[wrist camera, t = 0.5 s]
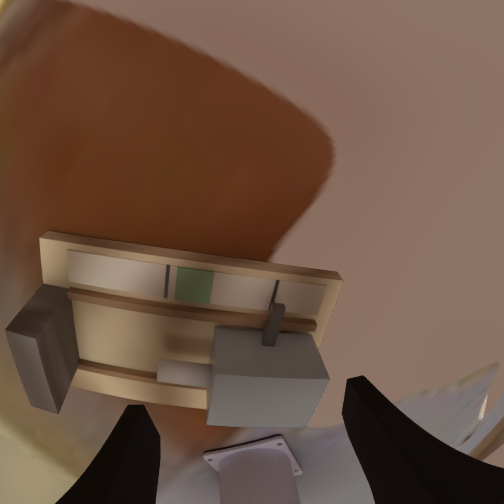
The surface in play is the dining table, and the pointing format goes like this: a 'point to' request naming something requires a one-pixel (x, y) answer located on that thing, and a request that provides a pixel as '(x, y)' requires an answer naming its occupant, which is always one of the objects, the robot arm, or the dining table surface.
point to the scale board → (148, 315)
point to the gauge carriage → (256, 376)
